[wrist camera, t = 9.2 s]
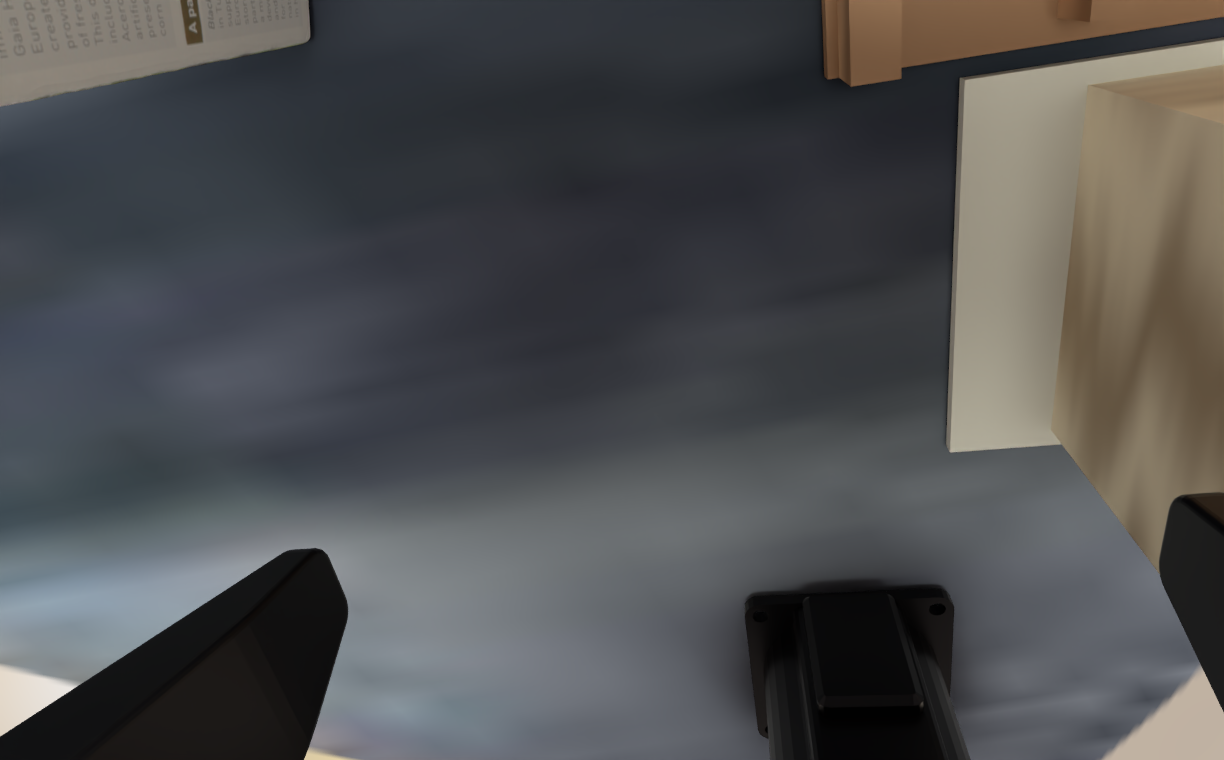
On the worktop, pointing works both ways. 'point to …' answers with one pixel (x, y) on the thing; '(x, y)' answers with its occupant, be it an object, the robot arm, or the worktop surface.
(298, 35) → the syrup box
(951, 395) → the cream rectangular plate
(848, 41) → the rack
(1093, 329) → the birch board
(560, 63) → the worktop surface
